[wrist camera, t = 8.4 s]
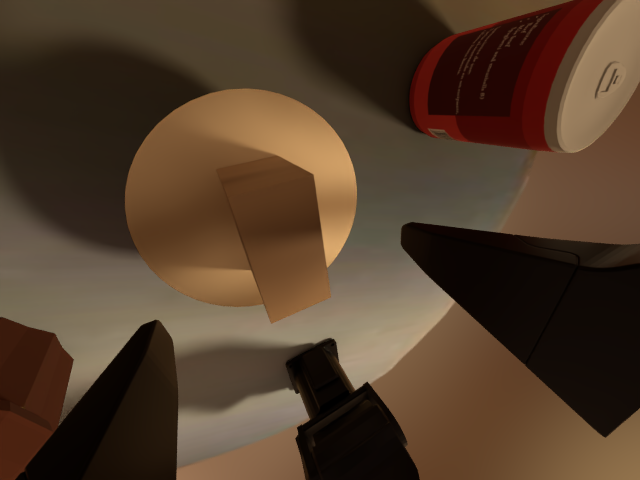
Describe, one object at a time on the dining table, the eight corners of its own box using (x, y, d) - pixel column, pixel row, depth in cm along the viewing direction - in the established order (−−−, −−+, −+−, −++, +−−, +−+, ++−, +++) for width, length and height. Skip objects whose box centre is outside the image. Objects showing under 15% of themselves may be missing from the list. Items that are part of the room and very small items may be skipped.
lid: (353, 259, 19) (402, 304, 15) (190, 324, 15) (190, 410, 11) (341, 75, 13) (419, 58, 8) (63, 112, 9) (-51, 115, 5)
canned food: (472, 117, 25) (627, 122, 16) (411, 151, 23) (544, 177, 15) (475, 21, 20) (692, -45, 12) (400, 57, 19) (582, 11, 10)
